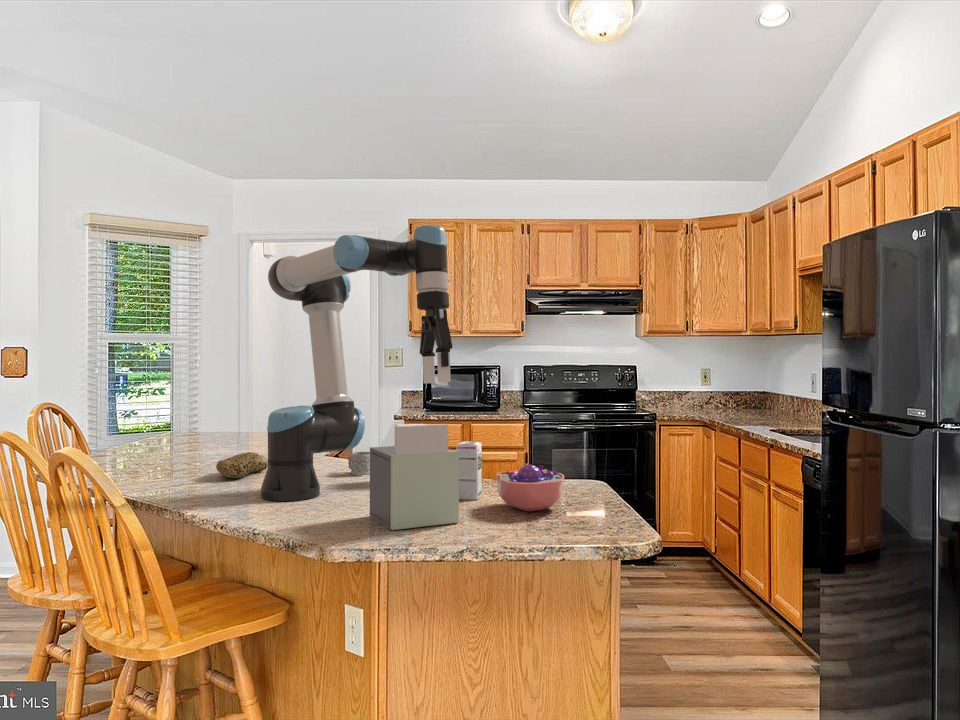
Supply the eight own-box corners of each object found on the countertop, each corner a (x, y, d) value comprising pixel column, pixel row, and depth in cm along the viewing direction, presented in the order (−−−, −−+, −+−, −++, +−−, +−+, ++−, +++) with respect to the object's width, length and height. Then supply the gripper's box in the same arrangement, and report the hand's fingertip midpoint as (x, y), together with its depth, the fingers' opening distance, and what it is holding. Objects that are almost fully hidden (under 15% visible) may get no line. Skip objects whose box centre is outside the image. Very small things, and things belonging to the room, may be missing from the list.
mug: (377, 474, 219) (377, 453, 218) (359, 477, 214) (359, 455, 214) (357, 470, 225) (357, 450, 225) (340, 473, 221) (340, 452, 221)
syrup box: (477, 500, 181) (478, 444, 181) (455, 499, 182) (456, 443, 182) (482, 495, 187) (482, 441, 187) (460, 494, 188) (461, 440, 188)
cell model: (568, 502, 180) (569, 458, 180) (559, 520, 160) (560, 471, 160) (504, 498, 184) (504, 455, 184) (487, 515, 164) (488, 467, 164)
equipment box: (369, 515, 163) (369, 447, 163) (433, 509, 170) (433, 443, 170) (389, 529, 151) (389, 455, 150) (457, 522, 158) (457, 451, 158)
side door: (390, 528, 150) (390, 426, 150) (456, 521, 157) (456, 423, 157) (392, 529, 149) (392, 427, 149) (458, 522, 156) (459, 424, 156)
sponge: (245, 473, 226) (197, 469, 209) (252, 450, 227) (205, 444, 209) (275, 484, 221) (229, 481, 203) (282, 460, 221) (237, 455, 204)
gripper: (463, 284, 154) (468, 380, 153) (434, 299, 177) (438, 383, 176) (430, 283, 151) (434, 382, 150) (405, 299, 175) (408, 384, 174)
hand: (436, 382), depth 163 cm, fingers open, 13 cm apart
